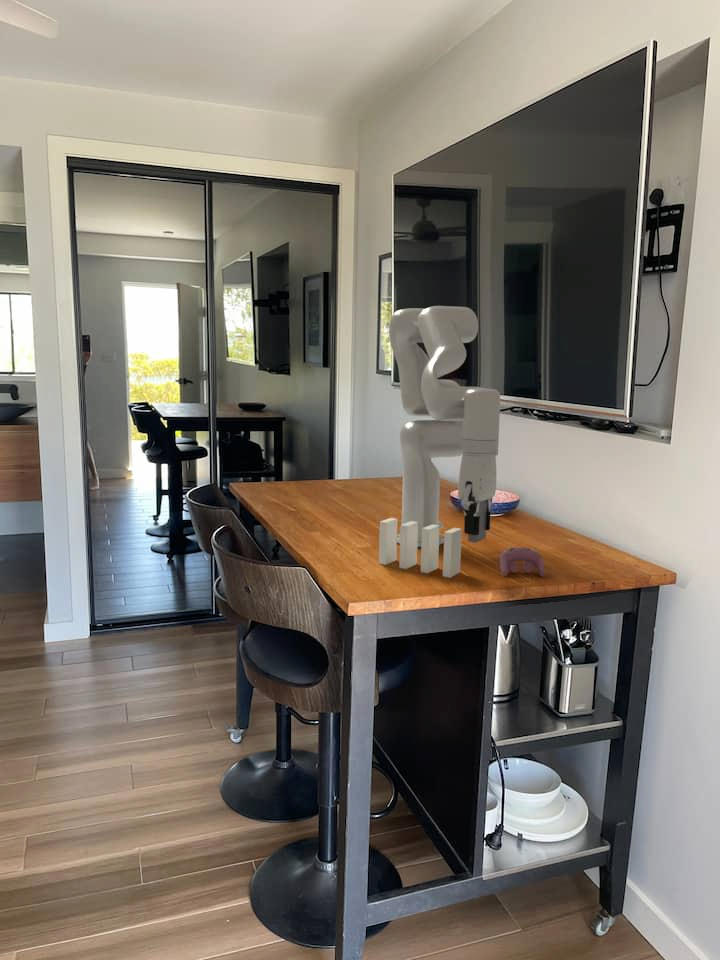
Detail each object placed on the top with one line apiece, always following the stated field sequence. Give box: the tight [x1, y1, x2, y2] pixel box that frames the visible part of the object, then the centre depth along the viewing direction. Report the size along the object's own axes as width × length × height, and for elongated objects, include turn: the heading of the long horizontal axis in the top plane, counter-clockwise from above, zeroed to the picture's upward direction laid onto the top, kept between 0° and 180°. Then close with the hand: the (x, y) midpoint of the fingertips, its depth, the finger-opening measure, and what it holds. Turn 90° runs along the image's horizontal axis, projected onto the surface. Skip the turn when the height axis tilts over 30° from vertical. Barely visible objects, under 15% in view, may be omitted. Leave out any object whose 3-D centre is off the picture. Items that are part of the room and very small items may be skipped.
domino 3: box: [420, 524, 440, 574], centre depth 162 cm, size 2×5×10 cm, turn 147°
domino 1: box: [378, 517, 398, 566], centre depth 167 cm, size 2×5×10 cm, turn 147°
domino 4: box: [442, 527, 463, 578], centre depth 159 cm, size 2×5×10 cm, turn 147°
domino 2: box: [399, 521, 418, 570], centre depth 164 cm, size 2×5×10 cm, turn 147°
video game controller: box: [498, 546, 546, 578], centre depth 161 cm, size 10×5×7 cm, turn 92°
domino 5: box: [467, 498, 487, 544], centre depth 154 cm, size 2×5×10 cm, turn 146°
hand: (477, 530), depth 154 cm, fingers closed on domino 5, 4 cm apart
